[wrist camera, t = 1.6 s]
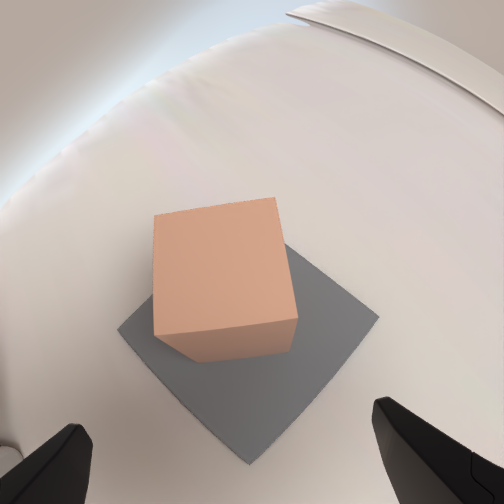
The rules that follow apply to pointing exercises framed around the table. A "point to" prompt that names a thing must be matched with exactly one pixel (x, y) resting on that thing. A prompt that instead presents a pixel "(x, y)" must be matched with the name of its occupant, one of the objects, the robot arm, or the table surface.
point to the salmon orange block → (223, 282)
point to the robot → (8, 459)
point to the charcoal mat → (261, 364)
